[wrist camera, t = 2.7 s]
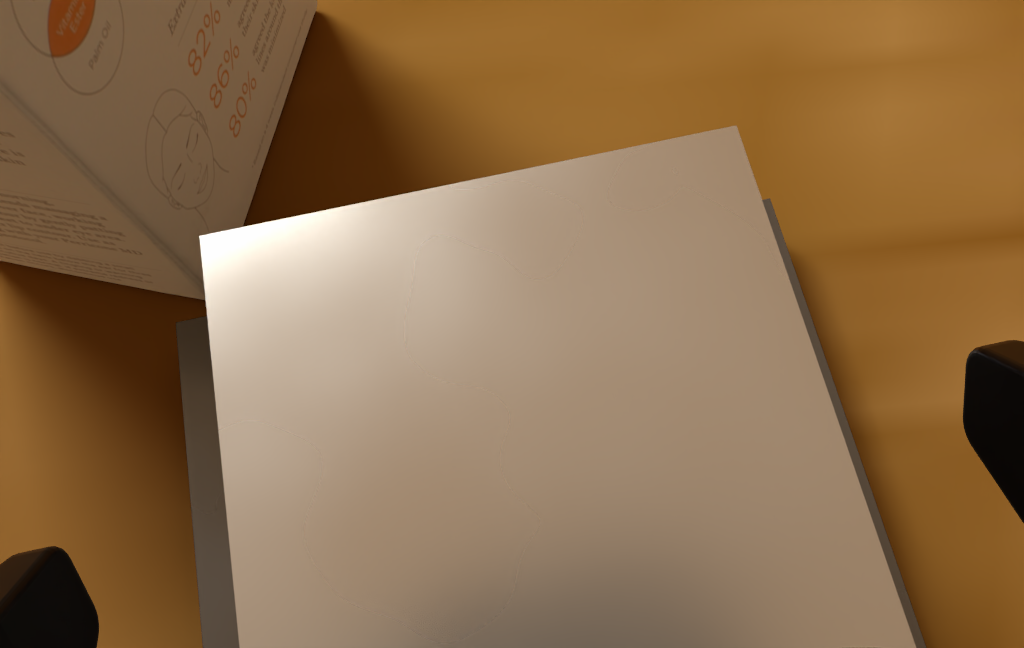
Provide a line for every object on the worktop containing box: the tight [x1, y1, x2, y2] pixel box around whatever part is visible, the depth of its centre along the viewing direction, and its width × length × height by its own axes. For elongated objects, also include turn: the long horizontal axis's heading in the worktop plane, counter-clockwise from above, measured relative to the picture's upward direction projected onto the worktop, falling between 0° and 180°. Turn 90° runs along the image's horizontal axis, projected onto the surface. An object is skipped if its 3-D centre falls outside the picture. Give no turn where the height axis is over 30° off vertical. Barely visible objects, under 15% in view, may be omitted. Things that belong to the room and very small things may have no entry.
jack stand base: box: [176, 199, 926, 648], centre depth 14 cm, size 12×12×6 cm
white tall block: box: [199, 126, 916, 648], centre depth 10 cm, size 4×4×10 cm
